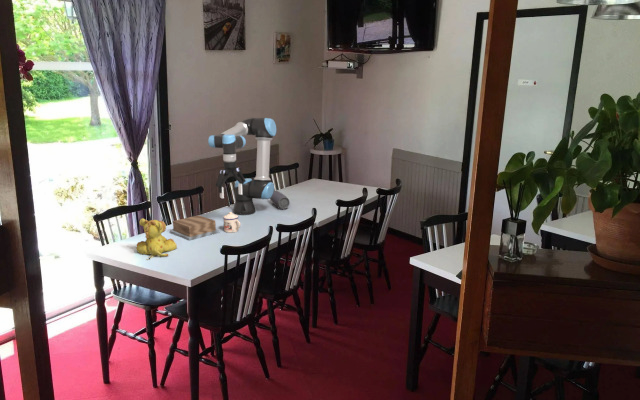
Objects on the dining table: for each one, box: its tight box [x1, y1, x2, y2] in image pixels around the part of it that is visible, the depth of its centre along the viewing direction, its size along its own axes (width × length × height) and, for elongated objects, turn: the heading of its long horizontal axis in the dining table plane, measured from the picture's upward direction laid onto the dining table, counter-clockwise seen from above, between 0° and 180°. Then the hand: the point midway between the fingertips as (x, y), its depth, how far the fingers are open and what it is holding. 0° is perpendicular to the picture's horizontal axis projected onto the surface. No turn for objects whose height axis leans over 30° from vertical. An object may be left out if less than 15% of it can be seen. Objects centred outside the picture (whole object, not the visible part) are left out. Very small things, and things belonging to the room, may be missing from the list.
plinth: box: [169, 214, 220, 242], centre depth 313 cm, size 21×21×8 cm
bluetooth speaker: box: [269, 190, 291, 210], centre depth 373 cm, size 23×9×10 cm, turn 22°
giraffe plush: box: [135, 218, 178, 261], centre depth 278 cm, size 20×24×19 cm
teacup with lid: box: [222, 211, 241, 234], centre depth 315 cm, size 12×9×12 cm
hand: (231, 196), depth 311 cm, fingers open, 13 cm apart
